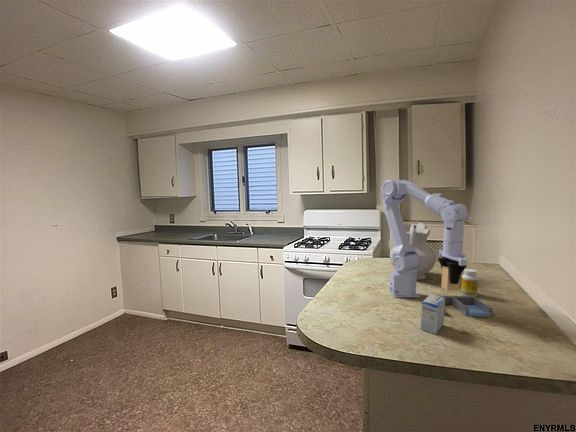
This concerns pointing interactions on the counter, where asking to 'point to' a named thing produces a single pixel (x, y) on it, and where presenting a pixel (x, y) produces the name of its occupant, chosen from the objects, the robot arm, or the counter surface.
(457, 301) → the blue shallow tray
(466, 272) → the supplement bottle
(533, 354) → the counter surface
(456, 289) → the tan rectangular block
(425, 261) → the ceramic pitcher
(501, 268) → the counter surface
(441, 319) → the medicine box
